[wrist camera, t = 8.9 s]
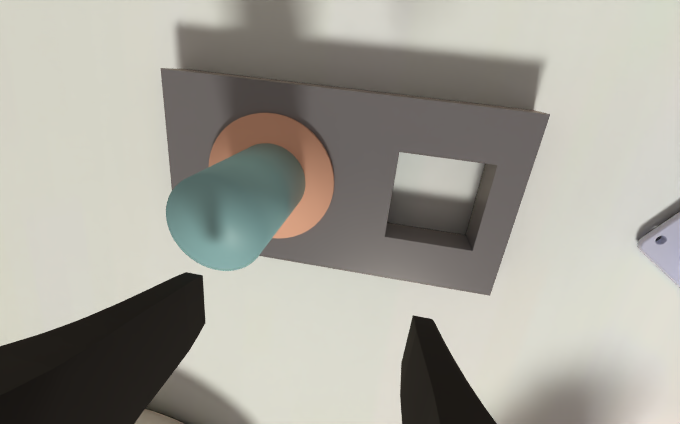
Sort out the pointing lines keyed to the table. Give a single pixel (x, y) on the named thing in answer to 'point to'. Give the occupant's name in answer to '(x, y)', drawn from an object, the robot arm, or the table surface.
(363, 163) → the board with square hole
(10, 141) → the table surface
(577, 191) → the table surface
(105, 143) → the table surface
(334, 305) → the table surface
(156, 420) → the bowl
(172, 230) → the plug
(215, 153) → the orange disc
